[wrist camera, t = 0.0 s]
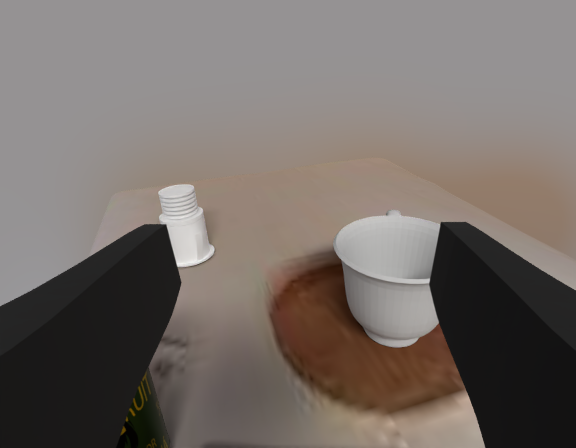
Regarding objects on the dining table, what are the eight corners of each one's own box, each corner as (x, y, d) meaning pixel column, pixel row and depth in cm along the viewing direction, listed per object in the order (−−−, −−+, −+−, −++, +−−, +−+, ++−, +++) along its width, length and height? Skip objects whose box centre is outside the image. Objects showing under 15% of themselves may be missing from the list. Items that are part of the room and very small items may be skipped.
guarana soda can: (77, 475, 26) (14, 348, 21) (141, 416, 30) (102, 297, 25) (124, 522, 24) (65, 390, 18) (187, 450, 28) (154, 325, 22)
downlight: (226, 255, 52) (215, 188, 48) (181, 276, 48) (164, 204, 44) (197, 239, 58) (185, 177, 54) (155, 256, 54) (138, 191, 50)
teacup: (437, 281, 45) (450, 205, 40) (468, 382, 32) (492, 286, 27) (337, 274, 47) (338, 202, 43) (327, 366, 34) (328, 275, 30)
